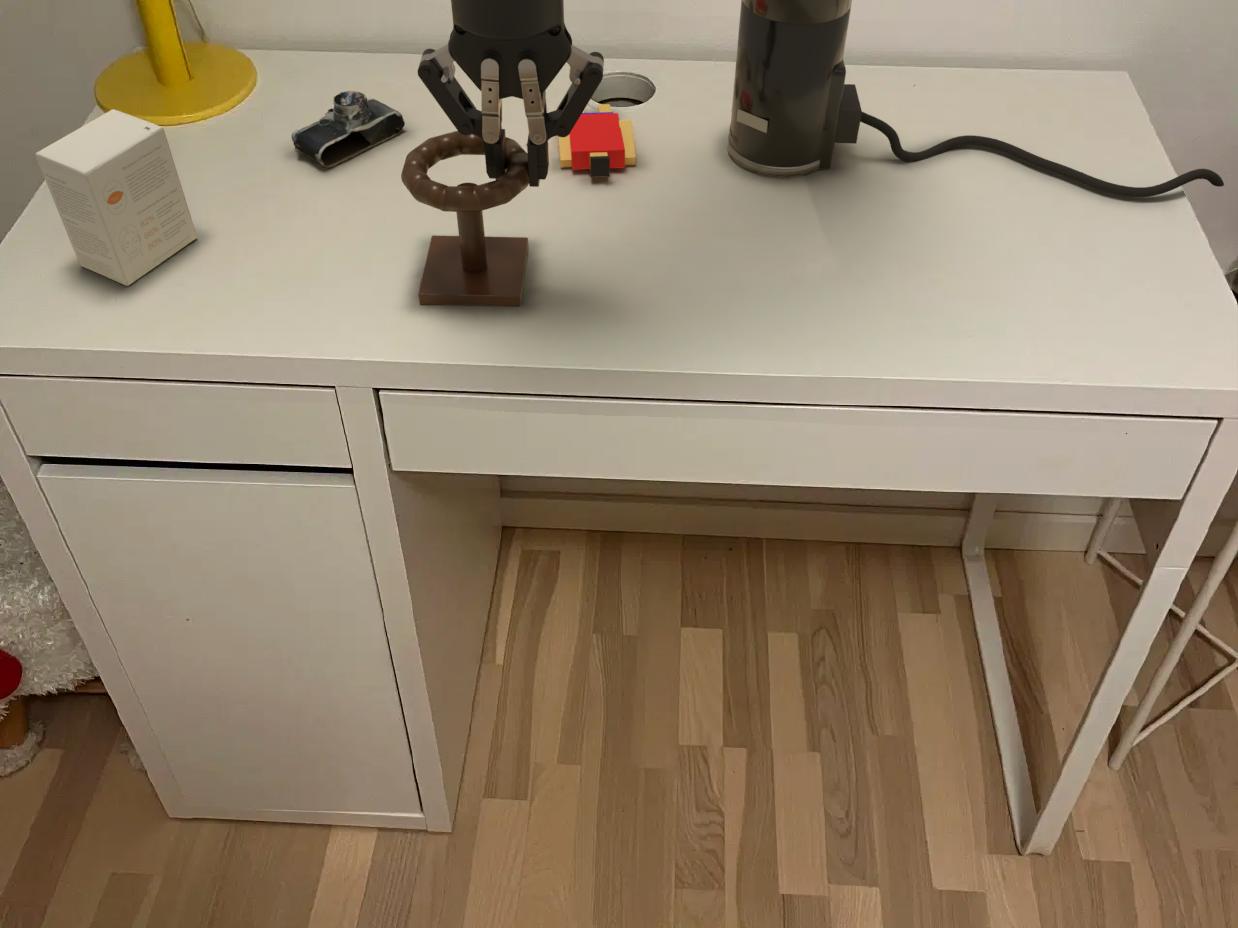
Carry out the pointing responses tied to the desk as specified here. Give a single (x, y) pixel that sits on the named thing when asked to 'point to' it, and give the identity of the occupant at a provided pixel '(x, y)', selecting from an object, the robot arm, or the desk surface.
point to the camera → (348, 129)
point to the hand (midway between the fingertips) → (519, 180)
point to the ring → (462, 195)
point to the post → (474, 266)
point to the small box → (118, 195)
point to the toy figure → (598, 143)
